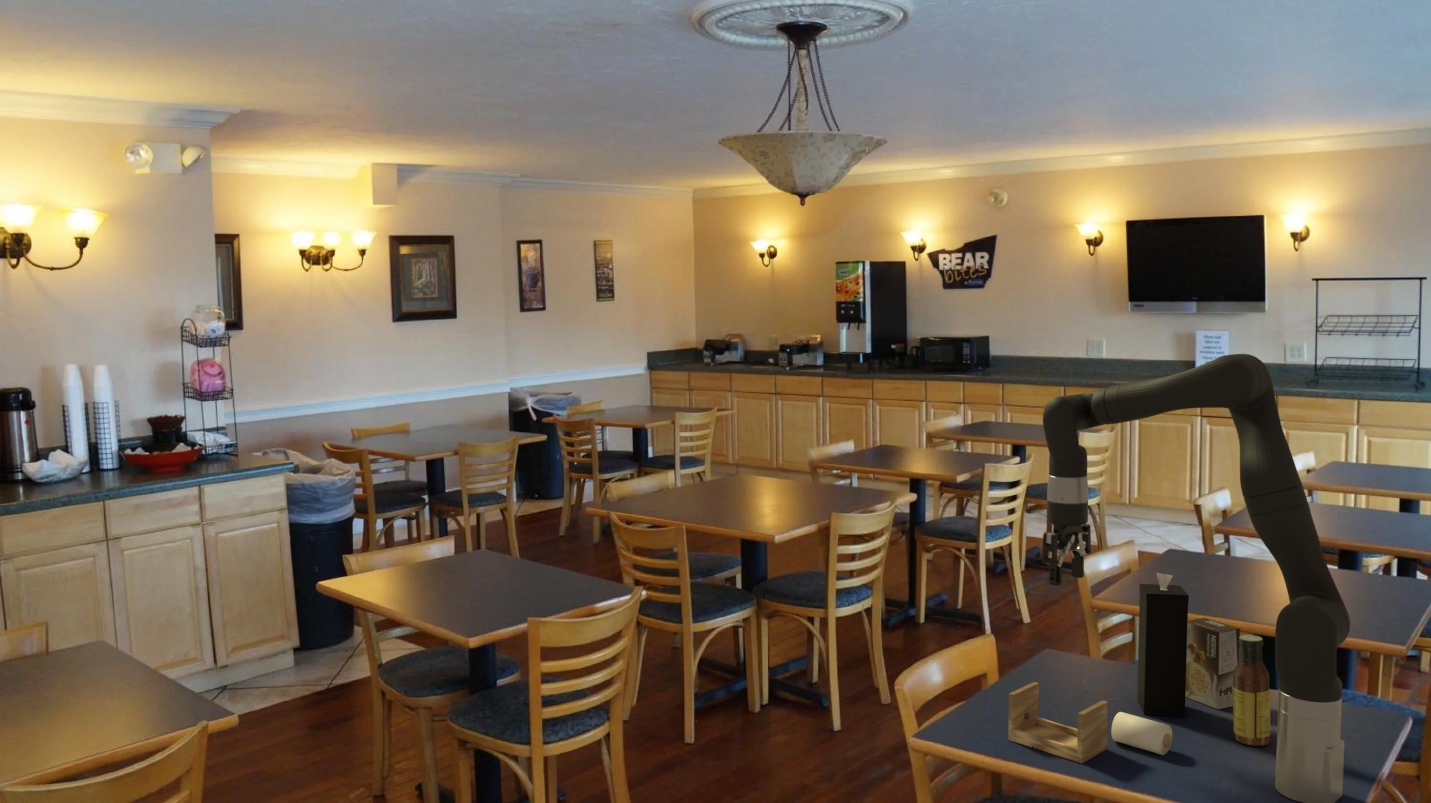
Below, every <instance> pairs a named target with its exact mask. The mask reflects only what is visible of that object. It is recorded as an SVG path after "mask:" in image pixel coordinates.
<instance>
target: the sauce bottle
mask: <svg viewBox="0 0 1431 803" xmlns="http://www.w3.org/2000/svg"><path fill="white" fill-rule="evenodd" d="M1239 645H1240V649H1239V662H1238V664H1237V666H1236V667H1235V669H1234V675H1233V706H1232V725H1233V730H1232V731H1233V733H1234V734H1233V737H1234V739H1235V740H1236V741H1237V742H1239V743H1240V744H1242V745H1247V746H1252V747H1264V746H1266V745H1268V744H1270V735H1271V688H1270V673H1269V671H1268V669H1267V667H1266V665H1265V663H1264V662H1263V647H1264V639H1263V637H1261V636H1258V635H1253V634H1243V635H1240V637H1239Z"/></svg>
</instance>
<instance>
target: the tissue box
mask: <svg viewBox="0 0 1431 803" xmlns="http://www.w3.org/2000/svg"><path fill="white" fill-rule="evenodd" d="M1173 577H1174V575H1172V574H1168V573H1161V572H1156V578H1157V582H1158V584H1156V583H1155V584H1154V583H1139V588H1138V592H1139V604H1138V605H1139V607H1138V608H1139V611H1138V612H1139V613H1138V614H1139V615H1138V648H1137V649H1138V650H1137V651H1138V655H1137V683H1136V684H1137V689H1136V690H1137V692H1136V693H1137V694H1136V701H1137V703H1138V705H1139V708H1140V709H1141V712H1142V714H1144V715H1151V716H1152V715H1154V716H1155V715H1156V716H1171V717H1186V697H1185V694H1186V660H1187V625H1188V621H1189V620H1188V619H1189V616H1188V615H1189V614H1188V613H1189V599H1190V597H1189V596H1190V595H1189V594H1188V592H1186V591H1185V589H1184V588H1183V587H1182V585H1180V584H1170V582H1171V580H1172V579H1173Z"/></svg>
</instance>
